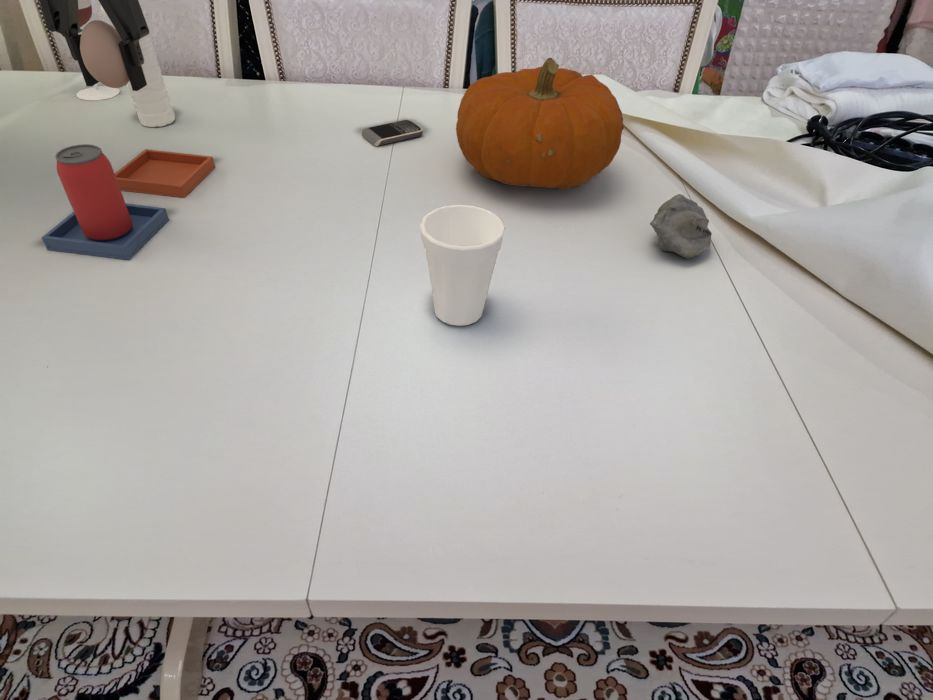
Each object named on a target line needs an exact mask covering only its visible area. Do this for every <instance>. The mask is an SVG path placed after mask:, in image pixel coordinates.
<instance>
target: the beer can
mask: <svg viewBox="0 0 933 700" xmlns="http://www.w3.org/2000/svg"><path fill="white" fill-rule="evenodd" d="M54 157H55V160H56V172H57V176H58V179H59V181H60V182H61V185H62V187H63V190H64V192H65V194H66V197H67V199H68V201H69V204H70V206H71V209H72V211H73V212H74V213H75V215H76V218H77V220H78V222H79V225H80V227H81V229H82V232H83V234H84V235H85V236H86V237H88V238H89V239H92V240H95V241H110V240H114V239H117V238H120V237H122V236H124V235H125V234H127V233H128V232H129V231H130V230H131V228H132V224H133V223H132V220H131V218H130V215H129V212H128V209H127V207H126V204H127V203H126V201H125V199H124V195H123V192H122V190H120V187H119V185H118V182H117V179H116V176H115V170H114V168H113V166H112V163H111V161H110V160H109V158H108V157H107V156H106V154H104V152H103V150H102V148H101V147H100V146H98V145H95V144H89V143H88V144H87V143H86V144H85V143H83V144H75V145H74V144H73V145H70V146H66V147H64V148H62V149H60V150H59V151H57V152H56V154H55V156H54ZM125 203H126V204H125Z"/></svg>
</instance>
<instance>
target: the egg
mask: <svg viewBox="0 0 933 700" xmlns="http://www.w3.org/2000/svg"><path fill="white" fill-rule="evenodd" d="M82 29H83V30H82V32H81V33H80V34H81V38H80V52H81V56H82V59H83V62H84V65H85V67H86V69H87V70H88V72H89V73H90V74H91V75H92V76H93V77H94V78H95V79H96V80H97V81H99V82H98V83H100V85H101V84H102V86H107V87H111V88H118V89H119V88H123V87H125V86H127V83H128V82H129V81H130V80H129V77H128V74H127V71H126V67H125V64H124V61H123V58H122V55H121V52H120V49H119V45H118V43H120V41H122V39H121V37H120V35H119V34H118V32H117V30H116V29H115V28H114V27H112V26H111V25H109V24H108V23H106V22H105V21H104V20H99V19H94V20H92V21H88V22H87V23H86V24H85V26H83V28H82Z"/></svg>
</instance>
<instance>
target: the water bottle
mask: <svg viewBox="0 0 933 700" xmlns="http://www.w3.org/2000/svg"><path fill="white" fill-rule="evenodd" d="M99 4H100V3H99ZM99 7H100V8H99V9H100V12H101V16H102V18H103V22H106V23H108V24H109V25H111V26H112V27H114V25H113V24H112V22H111V20H110V19H109V17H108V15H107V14H106V12H105V10H104V9H103V7H102V5H101V4H100V5H99ZM141 9H142V12H143V8H142V7H141ZM143 13H144V12H143ZM114 28H115V27H114ZM139 44H140V47H141V51H142V54H143V57H144V64H142V65H141V66H142V69H143V73H144V76H145V79H146V83H147V85H146V86H145V87H143V88H142V89H140V90H138V91H133V90H132V86H131V83H130V81H129V82H128V83H127V84H126V86H127V89H128V92H129V95H130V98H131V99H132V103H133V104H132V105H133V107H134V109H135V110H136V112H135V113H136V116H137V118H138V121H139V123H140V125H142V126H144V127H148V128H158V127H159V128H161V127H165V126H167V125H170V124H172V123H173V122H174V121H175V120H176V115H175V114H176V113H175V111H174V108H173V106H172V101H171V99H170V96H169V93H168V89H167V86H166V83H165V79H164V77H163V75H162V70H161V66H160V64H159V60H158V57H157V54H156V51H155V48H154V47H155V46H154V45H153V41H152V38H151V35H150V33H149V34H148V35H147V36H145V37H143V38H141V39H139Z"/></svg>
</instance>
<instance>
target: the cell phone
mask: <svg viewBox="0 0 933 700" xmlns="http://www.w3.org/2000/svg"><path fill="white" fill-rule="evenodd" d="M423 133H424V129H423V128H422V127H421V126H420V125H418V124H417V123H415V122H414V121H412V120H409V119H403V120H398V121H393V122H389V123H384V124H379V125H374V126H370V127H365V128H363V129H362V130H361V136H362V137H363V138H364V139H365V140H367V141H368V142H369V143H371V144H372V145H374V146H376V147H379V146H384V145H388V144H392V143H397V142H401V141H406V140H411V139H415V138H418V137H421V136H423V135H422V134H423Z"/></svg>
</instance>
